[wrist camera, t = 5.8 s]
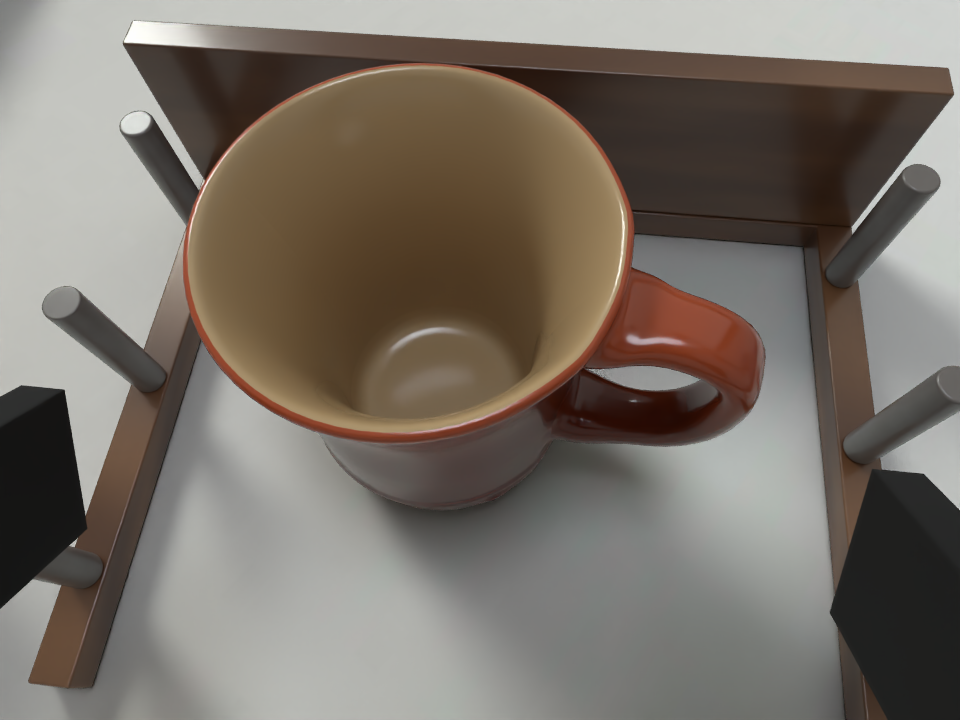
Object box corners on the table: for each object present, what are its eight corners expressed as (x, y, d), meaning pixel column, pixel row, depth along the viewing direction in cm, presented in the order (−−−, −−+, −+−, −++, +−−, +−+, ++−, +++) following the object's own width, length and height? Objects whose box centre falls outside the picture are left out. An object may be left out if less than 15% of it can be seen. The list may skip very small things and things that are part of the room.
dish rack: (899, 796, 18) (1125, 865, 11) (52, 682, 20) (-171, 685, 13) (834, 221, 25) (948, 64, 19) (222, 176, 27) (133, 16, 21)
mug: (266, 490, 22) (91, 352, 13) (375, 266, 25) (300, 24, 16) (640, 626, 20) (761, 581, 11) (704, 362, 23) (839, 152, 14)
